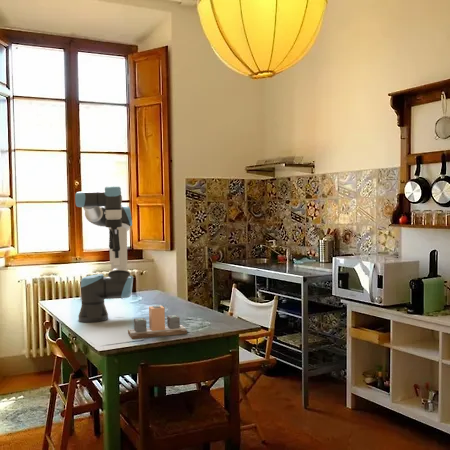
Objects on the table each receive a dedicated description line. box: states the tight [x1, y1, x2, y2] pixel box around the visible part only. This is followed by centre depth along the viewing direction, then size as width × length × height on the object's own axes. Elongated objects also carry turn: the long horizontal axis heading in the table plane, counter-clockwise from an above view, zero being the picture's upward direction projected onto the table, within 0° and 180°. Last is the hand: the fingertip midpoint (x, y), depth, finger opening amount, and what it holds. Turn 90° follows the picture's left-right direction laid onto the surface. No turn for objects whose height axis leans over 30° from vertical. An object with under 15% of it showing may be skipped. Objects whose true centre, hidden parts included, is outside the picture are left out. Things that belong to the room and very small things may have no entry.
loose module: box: [148, 305, 166, 331], centre depth 244 cm, size 6×6×10 cm
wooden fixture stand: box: [127, 314, 188, 340], centre depth 244 cm, size 12×25×7 cm, turn 109°
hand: (114, 263), depth 252 cm, fingers open, 13 cm apart
